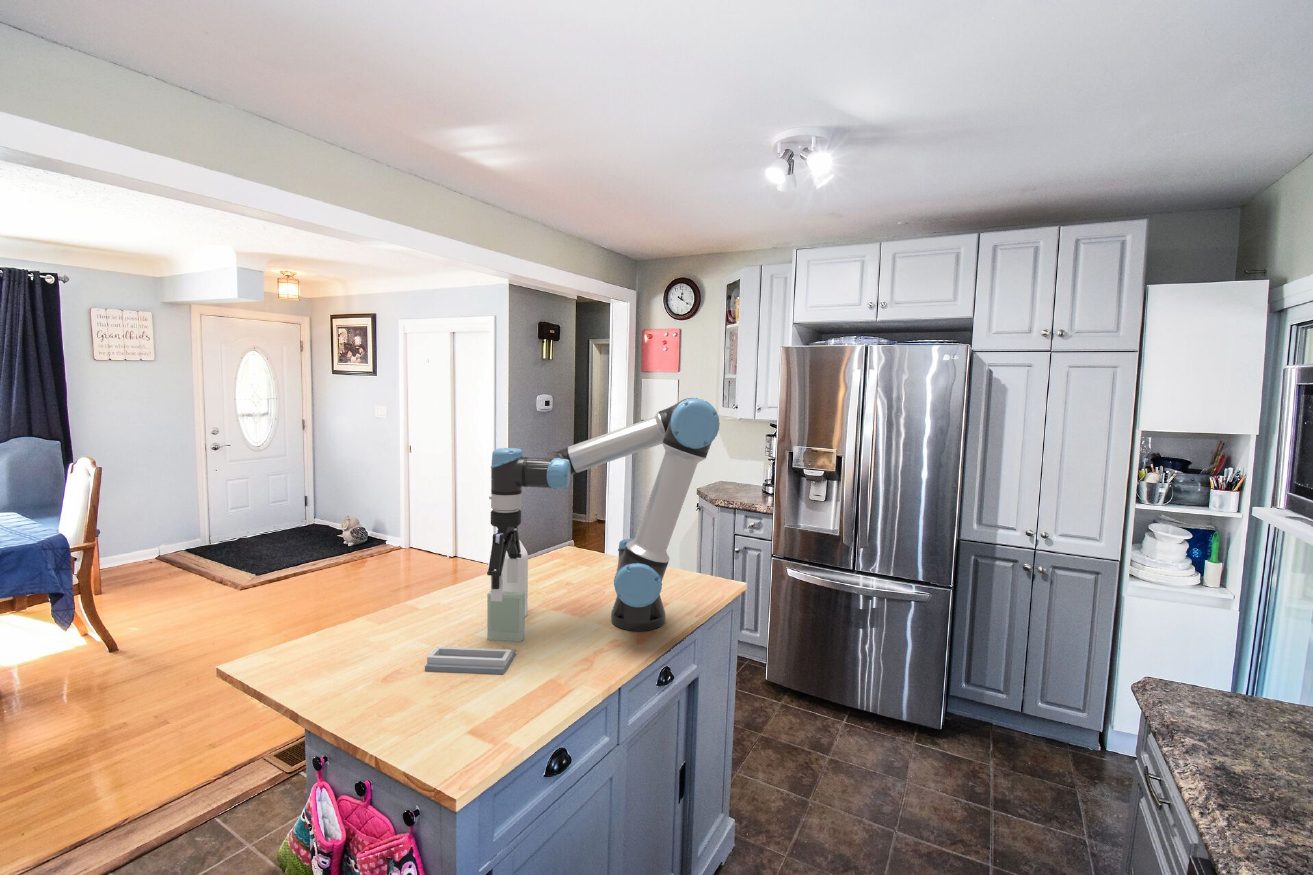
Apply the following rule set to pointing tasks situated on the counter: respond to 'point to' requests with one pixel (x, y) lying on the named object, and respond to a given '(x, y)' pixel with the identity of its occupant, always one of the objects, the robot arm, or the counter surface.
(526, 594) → the bottle
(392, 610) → the counter surface
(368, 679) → the counter surface
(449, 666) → the base
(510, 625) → the door panel
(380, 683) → the counter surface
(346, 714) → the counter surface
